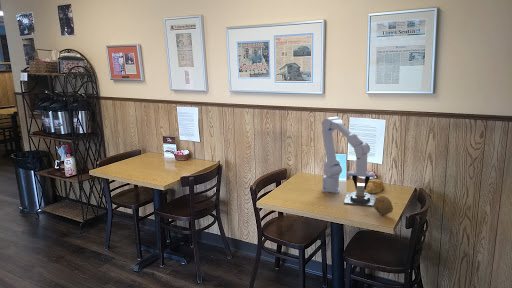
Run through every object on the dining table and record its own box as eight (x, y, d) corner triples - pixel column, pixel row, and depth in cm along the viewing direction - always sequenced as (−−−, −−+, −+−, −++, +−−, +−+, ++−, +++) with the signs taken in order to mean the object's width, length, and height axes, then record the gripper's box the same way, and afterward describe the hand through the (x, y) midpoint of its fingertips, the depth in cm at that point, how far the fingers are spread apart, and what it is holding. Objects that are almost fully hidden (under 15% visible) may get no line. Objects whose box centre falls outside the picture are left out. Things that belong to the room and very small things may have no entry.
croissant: (371, 201, 219) (378, 191, 216) (357, 191, 224) (363, 180, 220) (384, 190, 236) (391, 180, 232) (370, 180, 240) (377, 170, 236)
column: (356, 196, 210) (356, 185, 209) (356, 193, 214) (357, 182, 213) (364, 197, 209) (364, 186, 208) (364, 194, 213) (365, 183, 212)
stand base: (343, 204, 208) (344, 197, 207) (347, 194, 222) (347, 188, 221) (374, 207, 202) (374, 200, 202) (375, 196, 217) (376, 190, 216)
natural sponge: (370, 211, 197) (371, 193, 195) (387, 210, 198) (388, 192, 195) (376, 218, 188) (377, 199, 186) (394, 217, 189) (395, 198, 186)
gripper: (347, 166, 206) (346, 190, 210) (375, 168, 202) (374, 192, 205) (348, 163, 213) (347, 186, 216) (375, 164, 208) (374, 188, 211)
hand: (360, 189), depth 211 cm, fingers closed on column, 4 cm apart
